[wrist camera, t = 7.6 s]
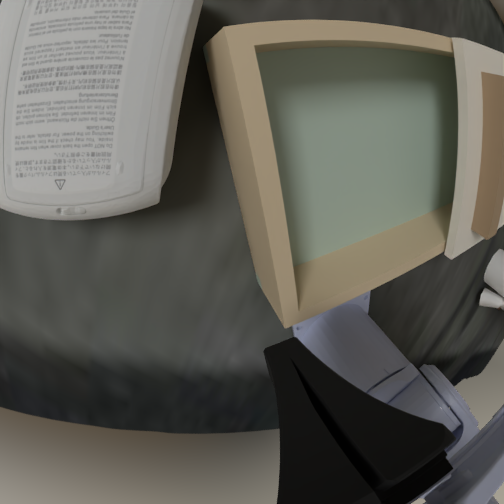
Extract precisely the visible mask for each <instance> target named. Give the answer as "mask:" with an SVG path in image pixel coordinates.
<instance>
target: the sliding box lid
mask: <svg viewBox="0 0 504 504" xmlns="http://www.w3.org/2000/svg"><path fill="white" fill-rule="evenodd" d="M452 42H453V49H454V57H455V66H456V77H457V91H458V155H457V170H456V182H455V191H454V200H453V207H452V214H451V221H450V227H449V233H448V238H447V244H446V249H445V253H444V255H446V256H447V257H448V258H450V259H453V258H455V257H456V256H458V255H459V254H461V253H463V252H464V251H466V250H467V249H469V248H470V247H472V246H473V245H475V244H476V243H478V242H479V241H481V240H482V239H484V238H485V239H487V240H488V239H489V238H491V237H492V236H494V235H495V234H496V232H497V229H498V228H500V227H501V226H502V225H504V54H503V53H501V52H499V51H496V50H494V49H491V48H489V47H486V46H483V45H481V44H478V43H475V42H472V41H469V40H466V39H463V38H452Z"/></svg>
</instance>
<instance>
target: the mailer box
mask: <svg viewBox="0 0 504 504" xmlns="http://www.w3.org/2000/svg"><path fill="white" fill-rule="evenodd" d="M202 48H203V52H204V56H205V60H206V65H207V69H208V73H209V77H210V82H211V86H212V90H213V95H214V99H215V103H216V107H217V112H218V116H219V120H220V124H221V129H222V133H223V137H224V141H225V146H226V150H227V154H228V158H229V163H230V167H231V171H232V175H233V180H234V184H235V188H236V192H237V197H238V201H239V205H240V209H241V213H242V218H243V222H244V226H245V230H246V235H247V239H248V243H249V247H250V252H251V256H252V260H253V264H254V268H255V273H256V277H257V281H258V283H259V285H260V287H261V289H262V290H263V292H264V294H265V295H266V297H267V299H268V300H269V302H270V304H271V306H272V307H273V309H274V311H275V312H276V314H277V316H278V317H279V319H280V321H281V322H282V324H283V326H284V328H288V327H290V326H293V325H295V324H298V323H300V322H302V321H305V320H307V319H309V318H312V317H314V316H316V315H318V314H321V313H323V312H325V311H327V310H330V309H332V308H334V307H336V306H338V305H341V304H343V303H345V302H347V301H349V300H351V299H354V298H356V297H358V296H360V295H362V294H364V293H366V292H368V291H370V290H372V289H374V288H376V287H378V286H380V285H382V284H384V283H386V282H388V281H390V280H392V279H394V278H396V277H398V276H400V275H402V274H404V273H406V272H407V271H409V270H411V269H413V268H415V267H417V266H419V265H420V264H422V263H424V262H426V261H428V260H430V259H431V258H433V257H435V256H437V255H438V254H440V253H442V252H444V251H445V249H446V244H447V238H448V233H449V227H450V221H451V214H452V207H453V200H454V191H455V182H456V170H457V155H458V91H457V77H456V66H455V57H454V49H453V42H452V38H448V37H444V36H441V35H437V34H432V33H428V32H423V31H419V30H414V29H408V28H403V27H397V26H390V25H383V24H375V23H365V22H354V21H338V20H285V21H269V22H257V23H248V24H239V25H232V26H225V27H223V28H222V29H221V30H220V31H219V32H218V33H217V34H216V35H215V36H213V37H212V38H211V39H210V40H209V41H208V42H207V43H206V44H205V45H204V46H203V47H202Z"/></svg>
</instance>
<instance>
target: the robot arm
mask: <svg viewBox="0 0 504 504" xmlns="http://www.w3.org/2000/svg"><path fill="white" fill-rule="evenodd" d="M369 300H370V291H368V292H366V293H364V294H362V295H360V296H358V297H356V298H354V299H351V300H349V301H347V302H345V303H343V304H341V305H338V306H336V307H334V308H332V309H330V310H327V311H325V312H323V313H321V314H318V315H316V316H314V317H312V318H309V319H307V320H305V321H302V322H300V323H298V324H295V325H293V326H292V327H293V334H294V337H293V338H290V339H288V340H285V341H283V342H280V343H278V344H275V345H273V346H270V347H267V348H265V350H264V355H265V359H266V363H267V367H268V371H269V375H270V377H271V380H272V382H273V385H274V388H275V392H276V397H277V406H278V415H279V428H280V474H279V490H278V498H277V504H411V503H412V502H414V501H415V500H417V499H418V498H424V499H425V500H426V502H425V503H423V504H499V503H498V502H497V501H496V499H495V498H494V497H493V495H494V494H495V493H496V491H497V490H498V489H499V487H500V486H501V485H502V483H503V482H504V405H503V406H502V407H501V408H500V409H499V410H498V411H497V413H496V414H495V415H494V416H493V418H492V419H491V420H490V421H489V422H488V423H487V424H486V426H485V427H484V428H482V430H479V429H478V427H477V426H478V421H477V420H476V419H475V417H474V416H473V415H472V413H471V412H470V408H469V406H468V405H467V403H466V402H465V400H464V399H463V398H462V397H461V395H460V394H459V393H458V391H457V390H456V389H455V388H454V386H453V385H452V384H451V383H450V382H449V381H448V379H447V378H446V377H445V376H444V375H443V374H442V373H441V372H440V371H439V370H438V369H437V368H436V367H435V366H434V365H428V366H427V365H426V364H424V365H423V366H422V367H421V368H420V370H421V371H422V373H423V374H424V375H425V376H426V379H427V380H428V381H429V382H430V384H431V385H432V386H433V388H432V387H431V385H430V384H429V383H428V382H427V381H426V379H425V378H424V377H423V376H422V375H421V373H420V372H419V371H418V370H417V369H416V368H415V366H414V365H413V364H412V363H410V362H409V361H408V360H407V359H406V357H405V356H404V355H403V354H402V353H401V352H400V351H399V349H398V348H397V347H396V346H395V345H394V344H393V342H392V341H391V340H390V339H389V338H388V337H387V336H386V334H385V333H384V332H383V331H382V330H381V329H380V328H379V327H378V325H377V324H376V323H375V322H374V321H373V320H372V319H371V318H370V316H369V315H368V309H369ZM298 326H299V327H298ZM449 407H450V409H449Z"/></svg>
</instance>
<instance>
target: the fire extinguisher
mask: <svg viewBox="0 0 504 504" xmlns="http://www.w3.org/2000/svg"><path fill="white" fill-rule="evenodd" d="M484 282H486V283H487V284H488V285H489V286H491V287H492V288H493V289H494V290H496V291H497V292H498V293H499V294H500V295H501V296H503V297H504V250H502V249H499V250H498V251H497V252H496V253H495V254H494V255H493V257H492V259H491V261H490V262H489V264H488V266H487V269H486V272H485V274H484ZM501 296H499V295H497V294H496V293H494V292H492V291H490V290H488V289H486V288H485V289H484V290H483V292H482V294H481V297H480V304H479V305H481V306H487V307H494V308H499V307H500V306H502V307H504V301H503V297H501Z"/></svg>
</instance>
